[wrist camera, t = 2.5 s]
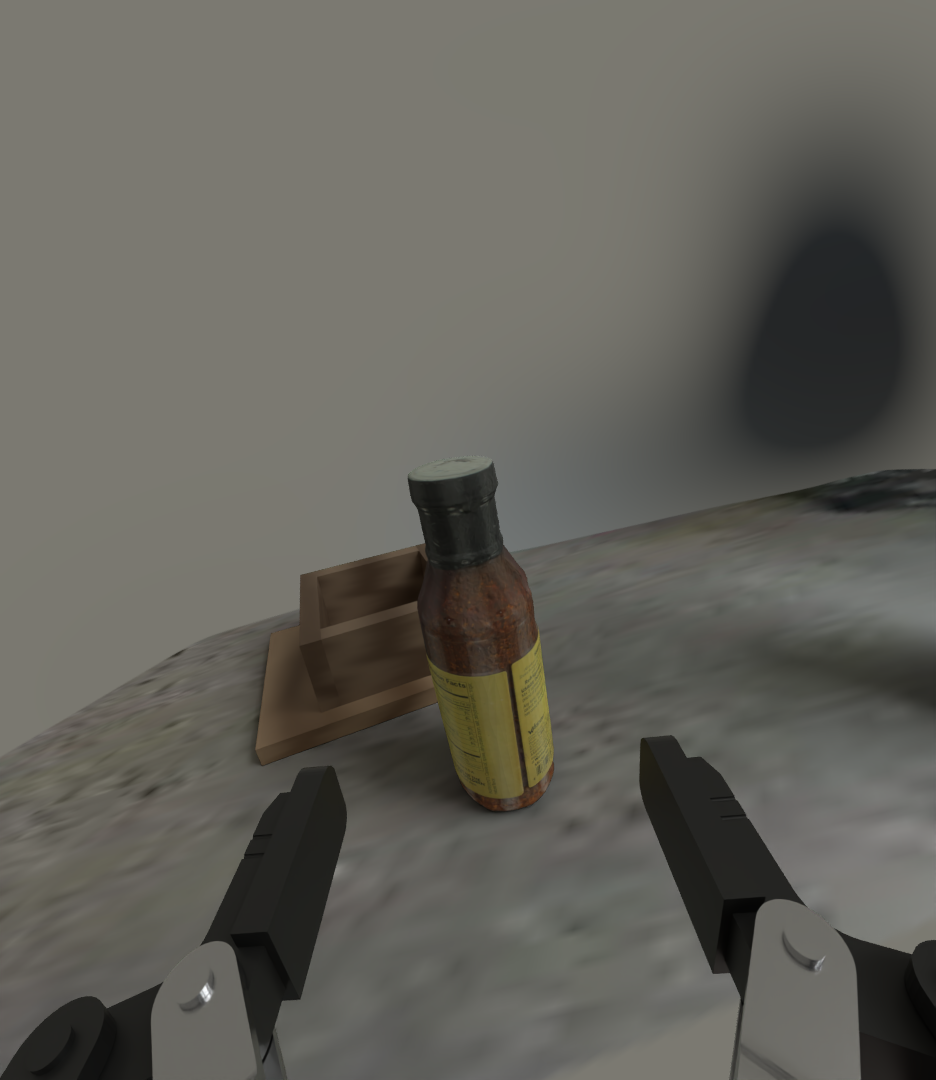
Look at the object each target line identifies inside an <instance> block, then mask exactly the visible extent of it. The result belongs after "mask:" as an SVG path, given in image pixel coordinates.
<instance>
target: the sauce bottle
mask: <svg viewBox="0 0 936 1080" xmlns="http://www.w3.org/2000/svg"><path fill="white" fill-rule="evenodd" d="M408 483H409V489H410V496H411V499H412V502H413V503H414V504H415V506H416V507H417V509H418V512H419V516H420V521H421V526H422V531H423V535H424V539H425V544H426V546H425V553H426V556H427V558H428V560H427V565H426V570H425V575H424V579H423V584H422V587H421V590H420V593H419V597H418V600H417V610H418V615H419V619H420V624H421V629H422V634H423V639H424V645H425V650H426V655H427V659H428V664H429V668H430V672H431V677H432V681H433V685H434V689H435V693H436V697H437V701H438V705H439V709H440V712H441V716H442V720H443V724H444V728H445V731H446V735H447V738H448V742H449V746H450V751H451V755H452V759H453V762H454V766H455V770H456V772H457V774H458V776H459V778H460V782H461V784H462V786H463V788H464V789H465V790H466V791H467V793H468V794H469V795H470V796H471V797H472V798H473V799H474V800H475V801H477V802H478V803H479V804H480V805H483V806H484V807H485V808H487V809H489V810H492V811H510V810H516V809H520V808H523V807H527V806H530V805H532V804H533V803H534V802H536V801H537V800H538V799H539V798H540V797H541V796H542V795H543V794H544V793H545V792H546V789H547V787H548V785H549V783H550V781H551V778H552V776H553V771H554V763H553V740H552V731H551V723H550V715H549V708H548V700H547V693H546V685H545V677H544V670H543V661H542V653H541V645H540V637H539V630H538V626H537V623H536V621H535V618H534V606H533V600H532V593H531V590H530V589H529V586H528V582H527V577H526V574H525V572H524V570H523V569H522V568H521V567H520V566H519V565H518V564H517V562H516V561H515V560H514V558H513V557H512V556H511V554H510V553H509V552H508V550H507V549H506V548H505V546H504V545H503V537H502V535H501V533H500V530H499V520H498V517H497V509H496V502H495V498H494V495H495V491H496V488H497V486H498V481H497V477H496V473H495V468H494V464H493V461H492V460H491V459H489V458H487V457H483V456H466V457H458V458H449V459H442V460H438V461H434V462H431V463H428V464H425V465H422V466H420V467H418V468H416V469H414V470H413V471H412V472H410V473H409V474H408Z"/></svg>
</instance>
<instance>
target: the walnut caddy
mask: <svg viewBox="0 0 936 1080" xmlns="http://www.w3.org/2000/svg"><path fill="white" fill-rule="evenodd" d="M425 546H426V544H425V543H424V544H420V545H416V546H413V547H409V548H405V549H401V550H397V551H393V552H389V553H385V554H381V555H377V556H373V557H369V558H365V559H362V560H358V561H354V562H350V563H346V564H342V565H339V566H334V567H330V568H327V569H322V570H318V571H314V572H311V573H307V574H303V575H301V576H300V625H299V626H296V627H292V628H289V629H285V630H282V631H278V632H275V633H271V637H270V645H269V652H268V660H267V667H266V674H265V682H264V689H263V697H262V704H261V711H260V719H259V726H258V734H257V741H256V749H255V750H256V753H257V755H258V758H259V760H260V762H261V765H262V766H263V765H266V764H268V763H271V762H274V761H277V760H279V759H282V758H285V757H288V756H291V755H293V754H296V753H299V752H302V751H304V750H307V749H310V748H313V747H315V746H318V745H321V744H324V743H326V742H329V741H332V740H335V739H337V738H340V737H343V736H346V735H348V734H351V733H354V732H357V731H360V730H362V729H365V728H368V727H371V726H373V725H376V724H379V723H382V722H384V721H387V720H390V719H393V718H395V717H398V716H401V715H404V714H406V713H409V712H412V711H415V710H417V709H420V708H423V707H426V706H429V705H431V704H434V703H437V702H438V701H437V697H436V693H435V689H434V685H433V681H432V677H431V672H430V668H429V664H428V659H427V655H426V650H425V645H424V639H423V634H422V629H421V624H420V619H419V615H418V610H417V600H418V597H419V593H420V590H421V587H422V584H423V579H424V575H425V570H426V565H427V560H428V558H427V556H426V553H425Z"/></svg>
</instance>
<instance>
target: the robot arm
mask: <svg viewBox="0 0 936 1080" xmlns="http://www.w3.org/2000/svg"><path fill="white" fill-rule="evenodd" d="M639 782H640V790H641V795H642V799H643V802H644V805H645V808H646V811H647V813H648V816H649V818H650V821H651V823H652V825H653V828H654V830H655V833H656V835H657V838H658V840H659V843H660V845H661V848H662V850H663V852H664V855H665V857H666V860H667V862H668V865H669V867H670V870H671V872H672V875H673V877H674V879H675V882H676V884H677V887H678V889H679V892H680V894H681V897H682V899H683V902H684V904H685V906H686V909H687V911H688V914H689V916H690V919H691V921H692V924H693V926H694V928H695V931H696V933H697V936H698V938H699V941H700V943H701V946H702V948H703V951H704V953H705V955H706V958H707V960H708V963H709V965H710V968H711V970H712V973H713V974H720V973H730V974H731V976H732V978H733V980H734V983H735V985H736V987H737V990H738V992H739V994H740V996H741V997H740V1003H739V1011H738V1019H737V1026H736V1033H735V1041H734V1048H733V1056H732V1063H731V1071H730V1078H729V1080H936V940H931V941H925V942H922V943H920V944H919V945H918V946H916V948H915V950H914V952H913V954H909V953H905V952H901V951H898V950H894V949H891V948H887V947H884V946H880V945H876V944H873V943H869V942H866V941H862V940H859V939H856V938H853V937H850V936H848V935H846V934H844V933H842V932H840V931H838V930H836V929H835V928H833V927H832V926H831V925H830V924H829V923H828V922H827V921H826V920H825V919H823V918H822V917H821V916H820V915H818V914H817V913H816V912H814V911H813V910H811V909H809V908H808V907H807V906H806V905H805V904H804V903H803V902H802V901H801V899H800V898H799V897H798V895H797V894H796V893H795V891H794V890H793V888H792V887H791V885H790V883H789V882H788V880H787V879H786V877H785V876H784V874H783V872H782V871H781V869H780V868H779V866H778V864H777V863H776V861H775V860H774V858H773V856H772V855H771V853H770V852H769V850H768V849H767V847H766V845H765V844H764V842H763V841H762V839H761V837H760V836H759V834H758V833H757V831H756V829H755V828H754V826H753V825H752V823H751V822H750V820H749V819H747V817H746V814H745V812H744V810H743V809H742V807H741V806H740V804H739V802H738V801H737V800H735V797H734V795H733V793H732V791H731V790H730V788H729V787H728V785H727V783H726V782H725V780H724V779H723V777H722V775H721V774H720V773H719V772H718V771H716V770H715V769H714V768H713V767H712V766H711V765H710V764H708V763H707V762H706V761H705V760H704V759H703V758H702V757H691V758H687V757H686V756H685V754H684V752H683V750H682V749H681V747H680V745H679V743H678V742H677V740H676V739H675V737H673V736H672V735H670V736H659V737H648V738H642V739H641V744H640V777H639ZM346 822H347V811H346V805H345V801H344V798H343V795H342V792H341V789H340V786H339V782H338V779H337V776H336V773H335V770H334V768H333V767H332V766H321V767H310V768H303V769H301V770H300V772H299V773H298V775H297V778H296V780H295V782H294V785H293V787H292V789H291V792H287V793H280V794H279V795H278V796H277V798H276V799H275V800H274V801H273V802H272V803H271V805H270V806H269V807H268V808H267V809H266V811H265V812H264V813H263V815H262V817H261V819H260V821H259V824H258V826H257V828H256V830H255V832H254V834H253V839H252V840H251V841H250V843H249V845H248V847H247V849H246V852H245V854H244V859H242V860H241V862H240V865H239V867H238V869H237V871H236V873H235V875H234V877H233V880H232V882H231V884H230V886H229V888H228V890H227V892H226V895H225V897H224V899H223V901H222V903H221V905H220V908H219V910H218V912H217V914H216V916H215V918H214V920H213V923H212V925H211V927H210V929H209V931H208V933H207V935H206V937H205V939H204V941H203V942H202V944H201V945H200V946H199V947H197V948H196V949H194V950H193V951H191V952H190V953H189V954H188V955H186V956H185V957H184V958H183V959H182V960H181V961H180V962H179V963H178V964H177V965H176V966H175V967H174V968H173V970H172V971H171V972H170V973H169V975H168V976H167V978H166V979H165V981H164V982H162V983H161V984H159V985H157V986H155V987H153V988H151V989H149V990H146V991H144V992H142V993H140V994H138V995H135V996H133V997H131V998H129V999H127V1000H125V1001H122V1002H120V1003H118V1004H116V1005H114V1006H111V1007H109V1008H107V1009H106V1007H105V1006H104V1005H103V1004H102V1002H101V1001H100V1000H99V999H97V998H95V997H92V996H87V997H81V998H78V999H75V1000H73V1001H71V1002H69V1003H67V1004H65V1005H64V1006H62V1007H60V1008H59V1009H58V1010H56V1011H55V1012H53V1013H52V1014H51V1015H50V1016H49V1017H47V1018H46V1019H45V1020H44V1021H43V1022H42V1023H41V1024H40V1025H39V1026H38V1027H37V1028H36V1029H35V1030H34V1031H33V1032H32V1033H31V1034H30V1035H29V1037H28V1038H27V1039H26V1040H25V1042H24V1043H23V1044H22V1045H21V1047H20V1048H19V1050H18V1051H17V1052H16V1054H15V1055H14V1057H13V1058H12V1060H11V1062H10V1063H9V1065H8V1066H7V1068H6V1070H5V1071H4V1073H3V1074H2V1076H1V1078H0V1080H288V1079H287V1075H286V1070H285V1066H284V1062H283V1058H282V1053H281V1049H280V1045H279V1041H278V1036H277V1032H276V1029H275V1023H276V1019H277V1016H278V1013H279V1009H280V1006H281V1002H282V1001H285V1000H300V999H301V995H302V991H303V987H304V984H305V980H306V976H307V972H308V969H309V965H310V961H311V958H312V954H313V950H314V946H315V943H316V939H317V935H318V931H319V928H320V924H321V920H322V916H323V913H324V909H325V905H326V902H327V898H328V894H329V890H330V887H331V883H332V879H333V875H334V872H335V868H336V864H337V860H338V857H339V853H340V849H341V846H342V842H343V838H344V834H345V830H346Z"/></svg>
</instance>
